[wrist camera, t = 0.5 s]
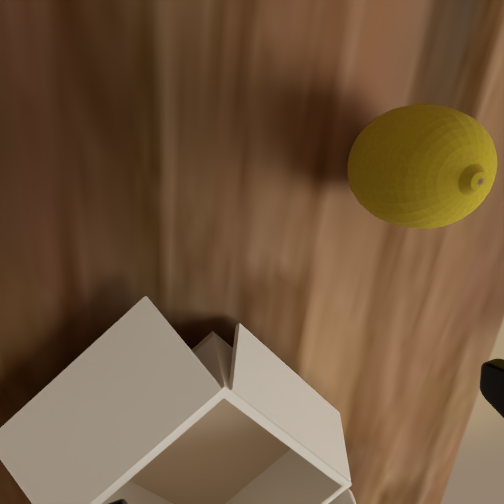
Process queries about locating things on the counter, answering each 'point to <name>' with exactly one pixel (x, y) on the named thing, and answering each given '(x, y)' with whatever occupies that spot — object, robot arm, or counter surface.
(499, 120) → the counter surface
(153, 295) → the counter surface
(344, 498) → the carton flap
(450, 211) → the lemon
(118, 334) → the carton
